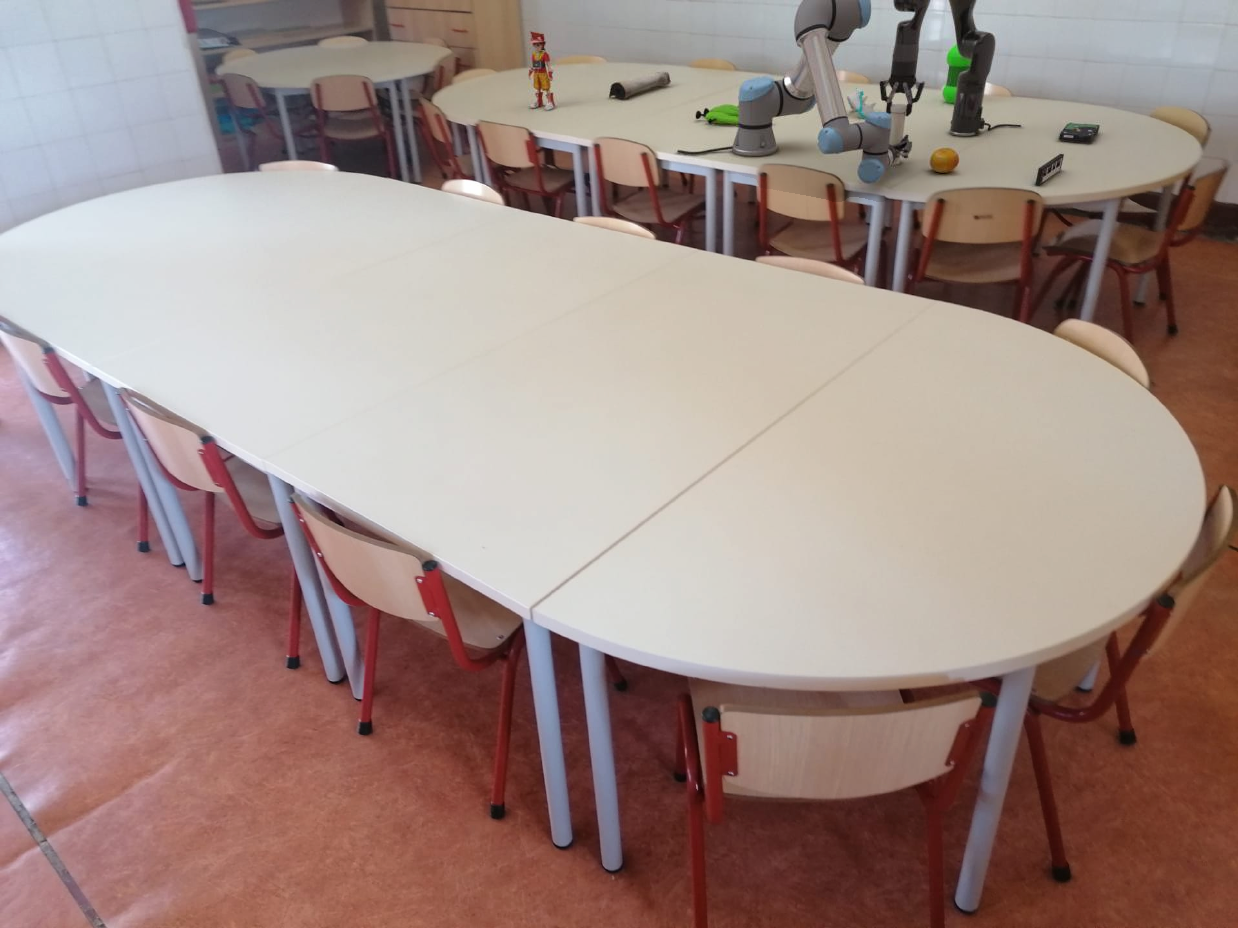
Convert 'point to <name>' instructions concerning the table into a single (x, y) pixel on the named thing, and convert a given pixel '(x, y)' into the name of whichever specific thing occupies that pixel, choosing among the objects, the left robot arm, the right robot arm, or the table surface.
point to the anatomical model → (860, 103)
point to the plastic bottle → (954, 73)
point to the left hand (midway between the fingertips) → (898, 138)
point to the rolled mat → (638, 84)
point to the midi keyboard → (1049, 169)
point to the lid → (898, 108)
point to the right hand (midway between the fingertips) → (898, 115)
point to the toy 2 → (721, 114)
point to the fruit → (944, 160)
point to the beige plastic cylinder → (897, 130)
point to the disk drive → (1079, 132)
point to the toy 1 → (541, 71)
